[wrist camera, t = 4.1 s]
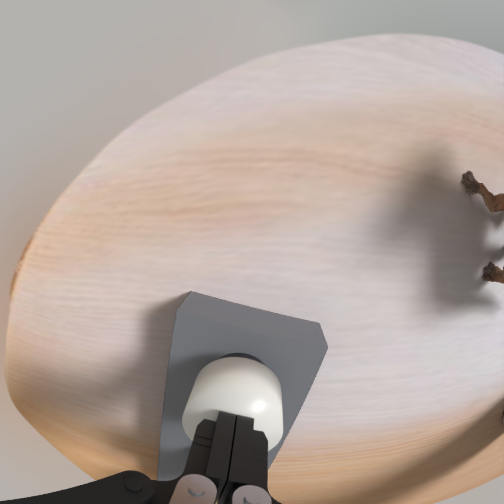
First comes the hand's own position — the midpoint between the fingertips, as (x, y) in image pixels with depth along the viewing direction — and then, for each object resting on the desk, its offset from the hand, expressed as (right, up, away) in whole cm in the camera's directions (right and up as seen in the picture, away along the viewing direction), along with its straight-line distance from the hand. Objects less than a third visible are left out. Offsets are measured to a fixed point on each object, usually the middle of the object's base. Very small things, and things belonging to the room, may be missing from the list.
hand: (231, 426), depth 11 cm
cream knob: (0, 0, +3) cm, 3 cm away
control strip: (-2, -6, +9) cm, 11 cm away
